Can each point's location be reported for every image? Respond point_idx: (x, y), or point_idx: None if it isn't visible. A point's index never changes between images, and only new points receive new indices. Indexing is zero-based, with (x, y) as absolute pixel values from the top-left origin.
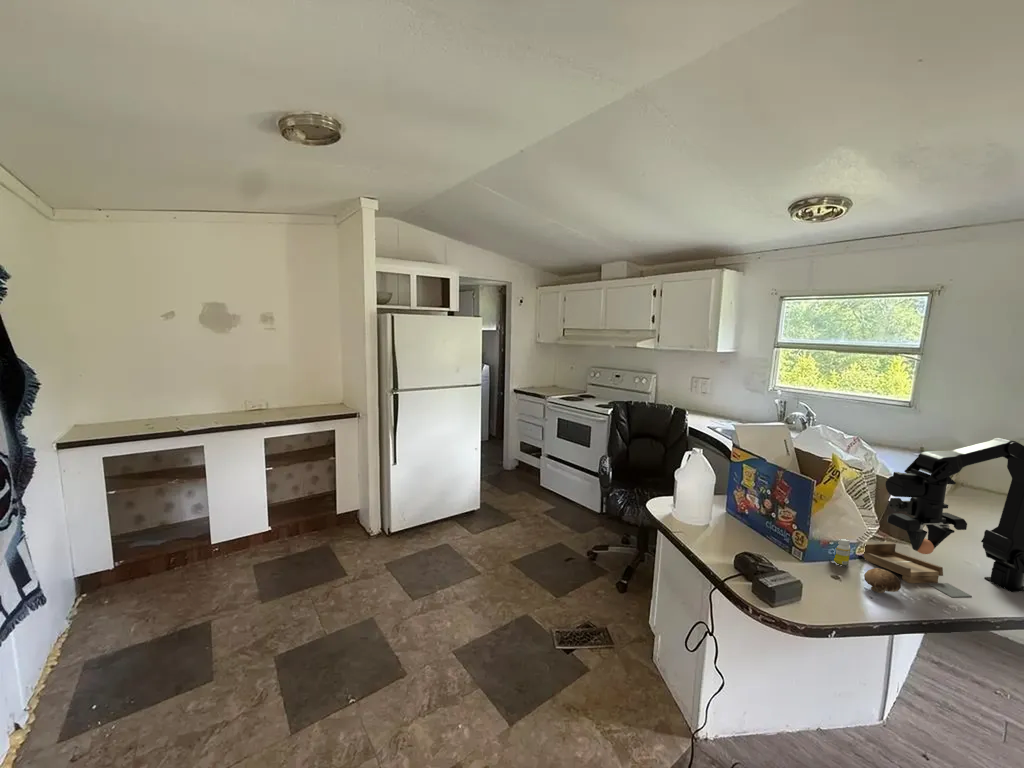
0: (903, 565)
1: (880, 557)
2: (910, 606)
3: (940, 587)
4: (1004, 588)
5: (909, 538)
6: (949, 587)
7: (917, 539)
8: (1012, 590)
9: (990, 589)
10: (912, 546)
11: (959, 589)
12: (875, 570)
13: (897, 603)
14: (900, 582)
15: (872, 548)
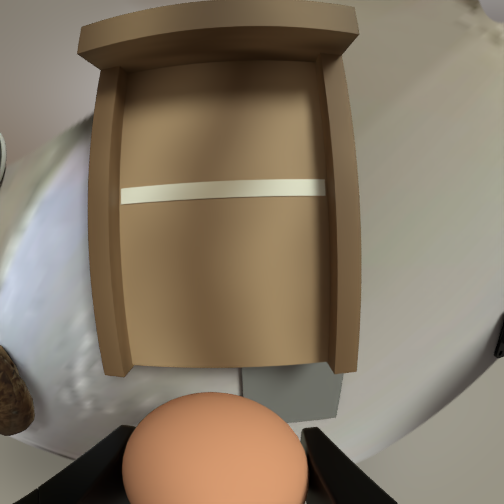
0: (193, 256)
1: (103, 171)
2: (63, 424)
3: (267, 377)
4: (497, 343)
5: (44, 484)
6: (311, 376)
7: None
8: (499, 357)
9: (460, 354)
10: (106, 443)
11: (340, 384)
12: None
13: (38, 407)
14: (24, 428)
15: (157, 48)
